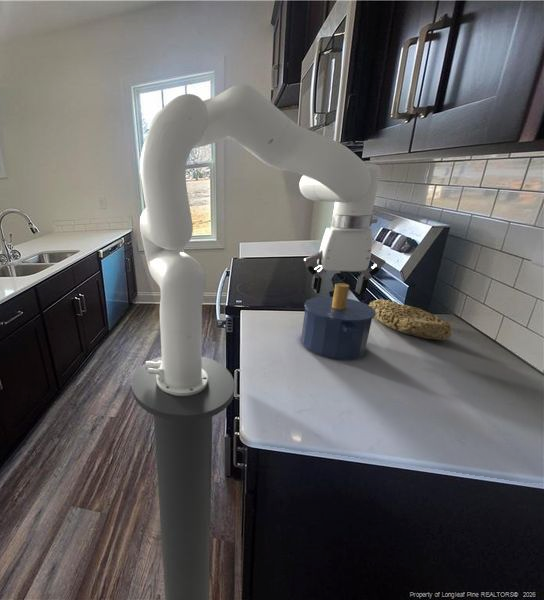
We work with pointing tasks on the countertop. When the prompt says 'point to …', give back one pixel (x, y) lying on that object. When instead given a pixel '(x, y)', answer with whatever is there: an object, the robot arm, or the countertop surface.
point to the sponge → (410, 320)
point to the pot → (334, 337)
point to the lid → (340, 307)
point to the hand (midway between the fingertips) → (337, 292)
